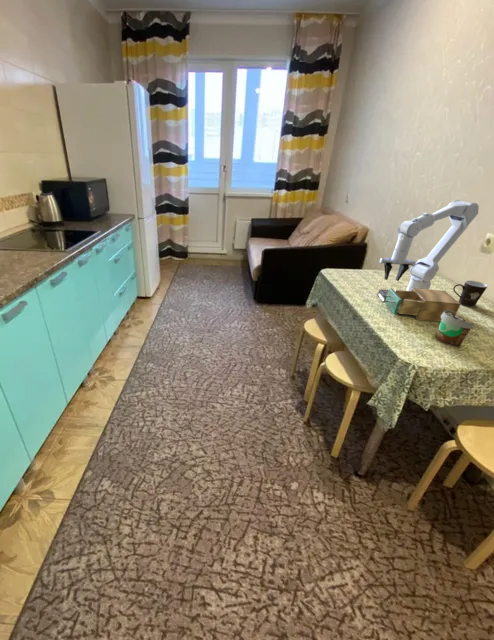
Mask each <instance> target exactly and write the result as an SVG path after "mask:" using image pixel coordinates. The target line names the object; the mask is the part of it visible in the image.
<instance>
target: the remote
mask: <svg viewBox="0 0 494 640" xmlns="http://www.w3.org/2000/svg"><path fill="white" fill-rule="evenodd" d="M388 291H389V289H384V288H383V289H382V288H380V289H378V292H377V295H378V294H382V295H387V294H388ZM384 298H385V300H386V297H384Z"/></svg>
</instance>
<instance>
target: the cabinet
mask: <svg viewBox="0 0 494 640" xmlns="http://www.w3.org/2000/svg"><path fill="white" fill-rule="evenodd" d="M411 291H414V292H415V293H416V294H417V295H418V296H419V297H420V298H421V299H422V300H423V301H424V302H423V304H422V307H421V309H420V312H419V314H418V315H413V316H414V317H415V319H416V320H421V321H431V322H438V323H439V322H440V323H441V320H442V319H441V315H442V313H443V312H445V311H446V310H449V309H452V310H451V312H452V313H453V314H455V315H457V313H458V311H459V309H460V307H461V305H462V304H460V303H459V300H457V299H456V298H454V297H453V296H452V295H451V294H450V293H448V292H447V291H446V290H438V289H430V288H429V289H418V288H412V290H411Z"/></svg>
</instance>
